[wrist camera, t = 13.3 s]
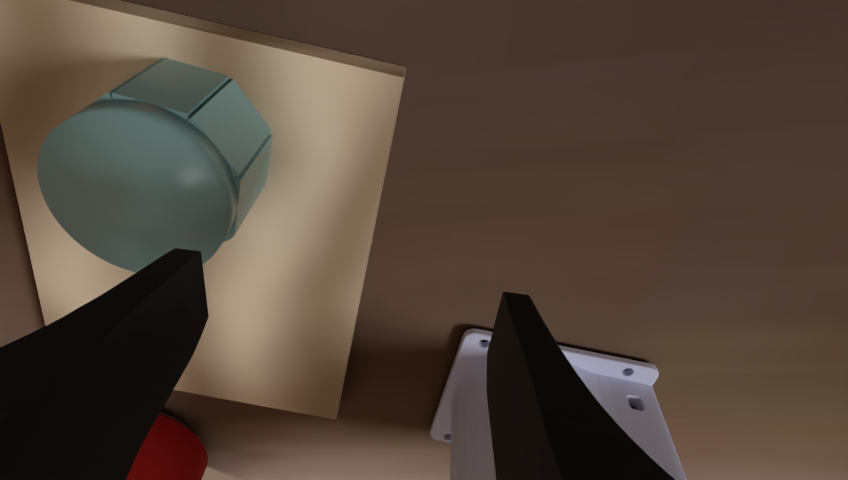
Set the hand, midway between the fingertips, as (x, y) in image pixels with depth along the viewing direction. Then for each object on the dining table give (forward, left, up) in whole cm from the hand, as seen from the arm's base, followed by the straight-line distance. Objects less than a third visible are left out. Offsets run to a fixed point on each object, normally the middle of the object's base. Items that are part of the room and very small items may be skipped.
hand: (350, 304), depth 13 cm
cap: (+7, +1, -8) cm, 11 cm away
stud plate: (+7, +6, -9) cm, 13 cm away
